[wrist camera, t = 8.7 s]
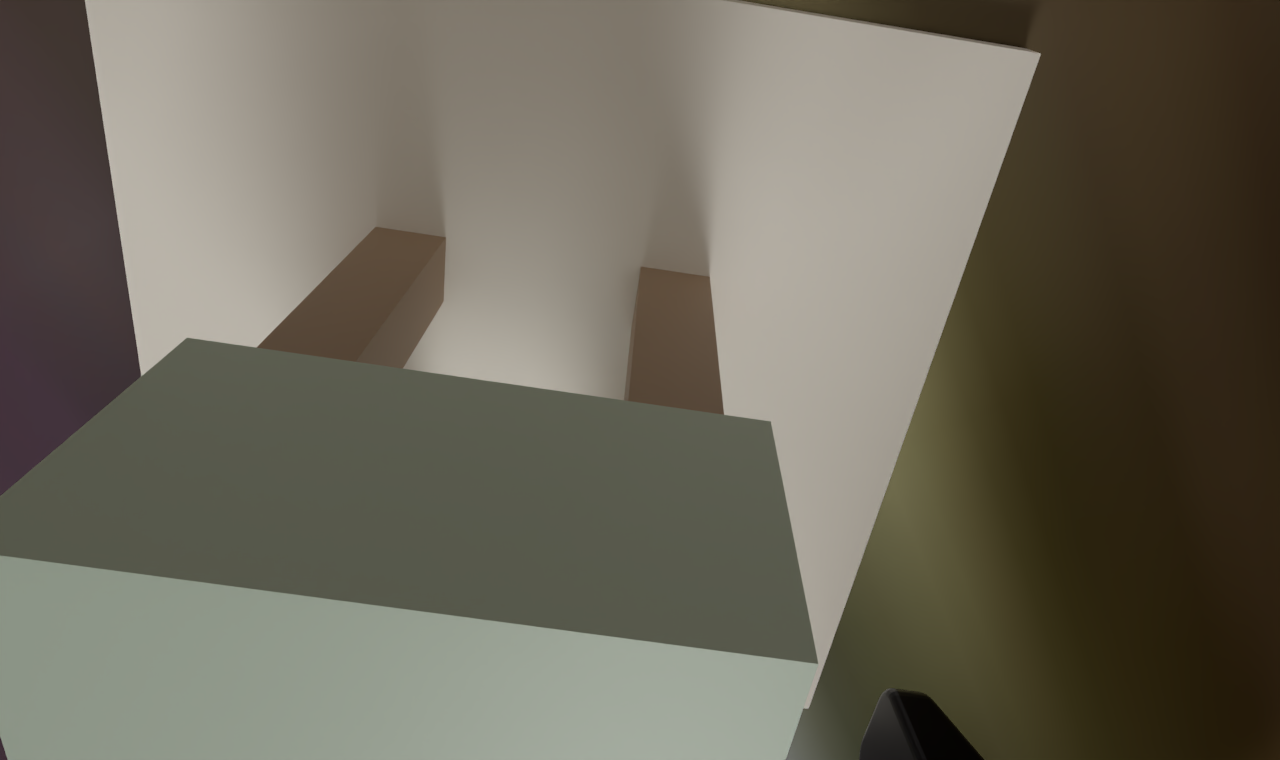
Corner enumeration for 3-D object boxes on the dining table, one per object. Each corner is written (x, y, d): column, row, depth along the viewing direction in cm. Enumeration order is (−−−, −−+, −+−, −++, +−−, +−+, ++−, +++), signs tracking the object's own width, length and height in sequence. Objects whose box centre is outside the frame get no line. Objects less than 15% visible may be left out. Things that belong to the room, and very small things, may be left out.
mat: (1026, 48, 11) (1040, 53, 11) (804, 688, 17) (808, 709, 16) (93, -108, 11) (68, -110, 10) (192, 605, 16) (179, 624, 16)
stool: (738, 257, 12) (816, 664, 5) (675, 555, 15) (676, 1077, 8) (350, 198, 12) (-61, 547, 5) (356, 512, 14) (87, 1010, 8)
